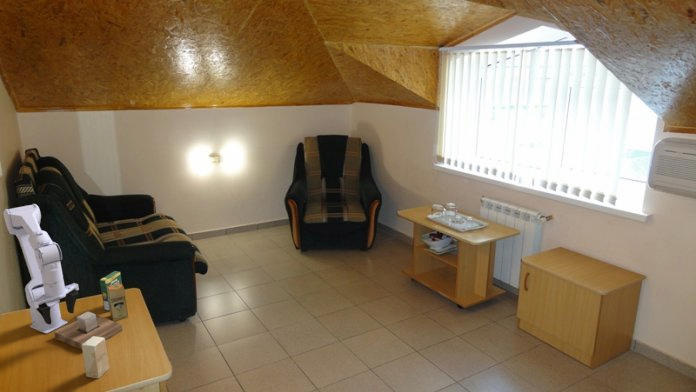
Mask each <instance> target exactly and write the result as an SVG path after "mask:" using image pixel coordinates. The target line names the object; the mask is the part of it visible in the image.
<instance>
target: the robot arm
mask: <svg viewBox="0 0 696 392" xmlns="http://www.w3.org/2000/svg"><path fill="white" fill-rule="evenodd" d="M41 213H42V212H41V210H40V207H39V206H38V205H37V204H36V203H32V204H29V205H24V206H18V207H12V208H5V209H4V210H3V219H4V223H5V225H6V228H7V231H8V232H9V234H10V235H14V236H16V238H17V239H18V242H19V245H20V247H21V249H22V250H21V251H22V253H23V257H24V261H25V263H26V266H27V268H28V272H29V274H30V278H31V279H30V281H29V282H28V283H27V284H26V285H25V288H24V292H25V297H26V301H27V303H28V305H29V312H30V318H31V322H32V324H31V325H29V326H30V328H32V329H34V330H36V331H38V332H41V333H43V334H46V335H47V334H49V333H51V332H53V331H54V330H55V331H56V330H58V328H59V329H60V327H61V328H62V327H64V326H66V325H68V321H66V320H64V319H62V316H61V311H60V310H61V309H60V304H59V303H60V302H61V301H60V300H61V299H63V298H64V300H65V301H64V302H65V305H66V310H67V313H69V314H74V313H75V306H76V302H77V298H78V297H79V292H78V291H79V290H80V288H79V284H78V283H75V282H73V283H71V284H68V285H65V280H64V274H63V269H62V264H61V261H62V260H63V254H62V253H63V252H62V250H61V248H60V245H59V244H58V243H56V242H55V241H53V240H52V239H51V237H50V235H49V234H48V232H47V231H45V230H42V228H41V226H40V224H41V218H42V214H41Z"/></svg>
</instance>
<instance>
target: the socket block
mask: <svg viewBox="0 0 696 392" xmlns="http://www.w3.org/2000/svg"><path fill="white" fill-rule="evenodd" d="M96 320H97V327H98V328H97V329H95V330H93V331H91V332H89V333H87V334H85V333H82V332H80V331H79V325H78V319H77V320H75V321H73V322H71V323H69V324H66V325H64V326H62V327H61V328H59V329H56V330H55V331H54V332H53V333H54V339H56V340H58V341H60V342H63V343H65V344H67V345H70V346H72V347H74V348H77V349H78V350H81V351H83V350H82V344H84V343H85V342H86V341H87V340H89V339H90V338H91V337H93V336H96V337H103V338H105V341H107V340H109V339H110V338H112V337H114V336H115V335H116V336H117V335H118V334H119V333H121V332H123V326H122V324H121V323H119V322H116V321H113V320H111V319H109V318H106V317H104V316H100V315H97V314H96Z"/></svg>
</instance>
